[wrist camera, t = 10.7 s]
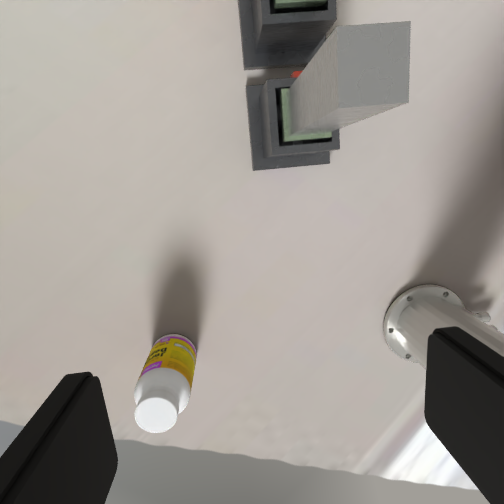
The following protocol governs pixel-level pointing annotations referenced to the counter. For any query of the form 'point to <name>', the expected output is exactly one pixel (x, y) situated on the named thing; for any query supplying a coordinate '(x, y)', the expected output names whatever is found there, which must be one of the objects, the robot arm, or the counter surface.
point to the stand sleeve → (280, 131)
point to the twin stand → (283, 31)
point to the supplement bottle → (165, 383)
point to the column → (348, 80)
